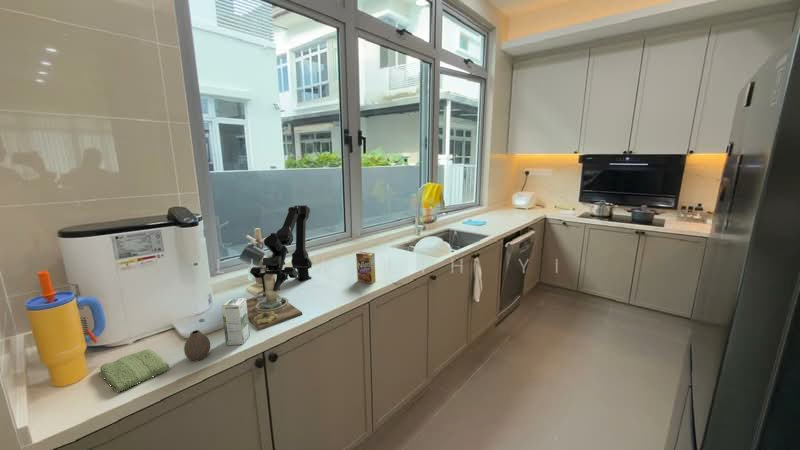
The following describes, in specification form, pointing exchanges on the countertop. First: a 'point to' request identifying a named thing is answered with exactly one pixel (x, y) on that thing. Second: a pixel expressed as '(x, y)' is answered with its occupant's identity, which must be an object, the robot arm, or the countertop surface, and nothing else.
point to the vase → (197, 346)
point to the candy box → (365, 267)
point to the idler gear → (270, 293)
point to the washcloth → (132, 369)
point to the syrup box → (235, 321)
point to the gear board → (269, 312)
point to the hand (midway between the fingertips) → (269, 291)
